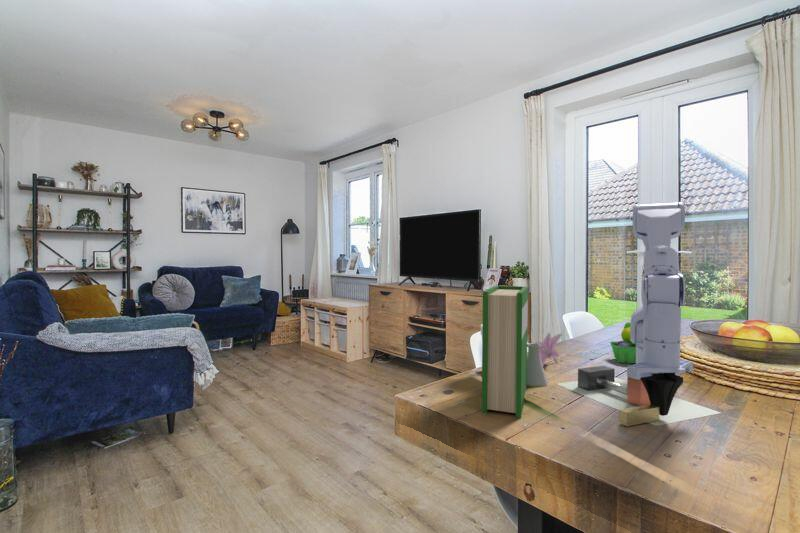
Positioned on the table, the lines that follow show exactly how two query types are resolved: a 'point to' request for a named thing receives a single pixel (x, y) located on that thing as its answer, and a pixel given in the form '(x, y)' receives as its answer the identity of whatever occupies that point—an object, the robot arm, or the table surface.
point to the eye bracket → (594, 377)
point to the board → (616, 400)
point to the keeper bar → (639, 415)
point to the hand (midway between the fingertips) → (659, 413)
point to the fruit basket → (625, 347)
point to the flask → (535, 366)
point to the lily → (548, 347)
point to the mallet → (629, 390)
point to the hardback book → (504, 349)
